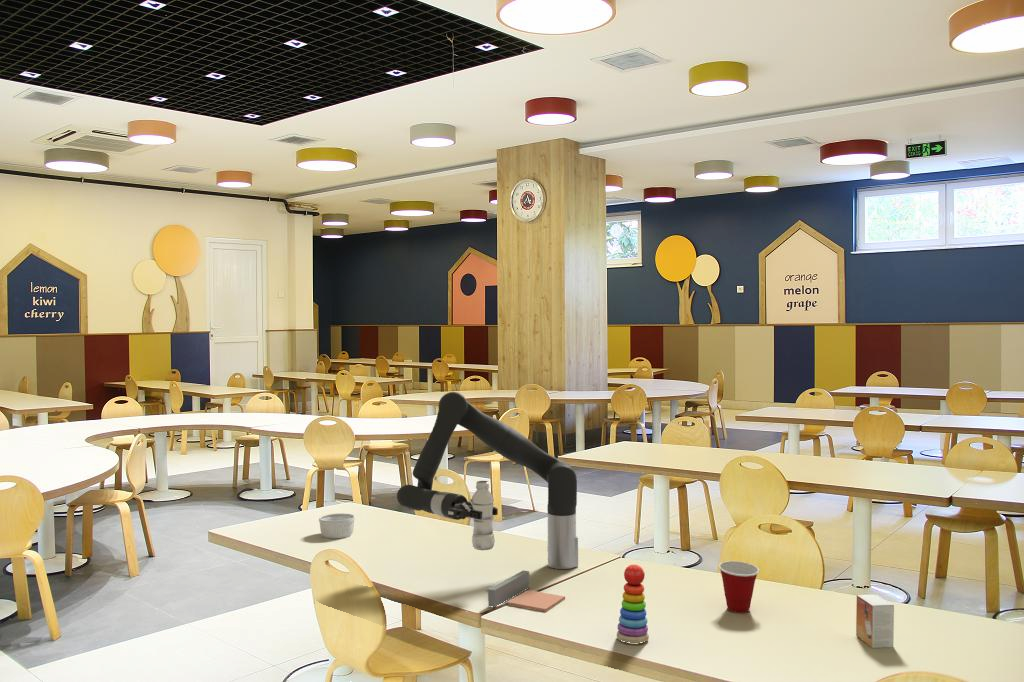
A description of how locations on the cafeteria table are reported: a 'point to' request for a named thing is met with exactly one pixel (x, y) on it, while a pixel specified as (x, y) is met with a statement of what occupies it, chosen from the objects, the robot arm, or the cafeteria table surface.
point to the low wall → (508, 588)
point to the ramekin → (337, 525)
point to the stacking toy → (633, 608)
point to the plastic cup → (738, 584)
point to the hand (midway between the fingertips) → (489, 513)
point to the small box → (875, 621)
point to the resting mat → (536, 600)
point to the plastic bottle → (483, 517)
